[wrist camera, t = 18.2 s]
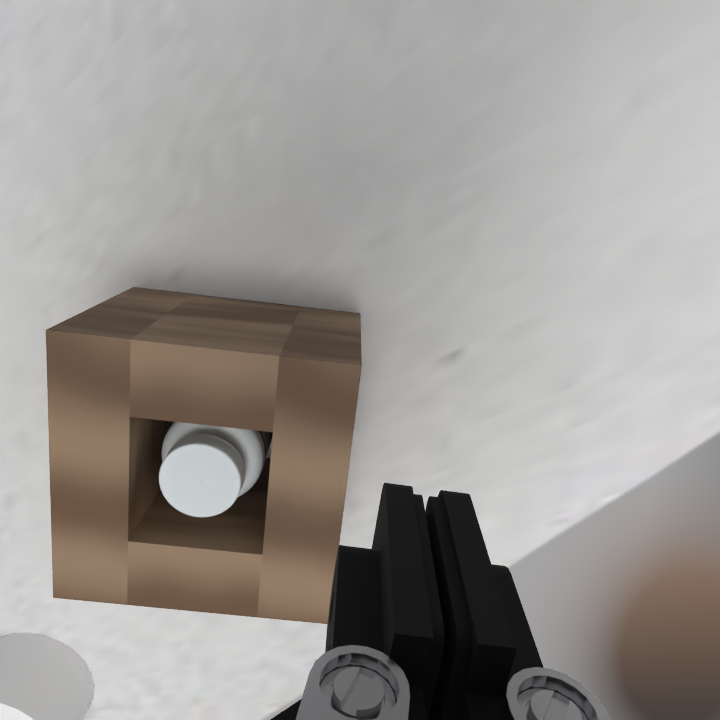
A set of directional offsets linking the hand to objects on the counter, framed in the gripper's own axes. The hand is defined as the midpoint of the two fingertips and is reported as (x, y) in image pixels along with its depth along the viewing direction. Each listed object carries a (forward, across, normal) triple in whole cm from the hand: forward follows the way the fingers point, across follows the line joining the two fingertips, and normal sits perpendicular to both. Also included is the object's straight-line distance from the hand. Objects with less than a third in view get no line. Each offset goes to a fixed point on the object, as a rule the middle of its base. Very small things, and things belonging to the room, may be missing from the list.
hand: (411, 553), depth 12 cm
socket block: (+26, +8, +9) cm, 29 cm away
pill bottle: (+26, +8, +9) cm, 28 cm away
